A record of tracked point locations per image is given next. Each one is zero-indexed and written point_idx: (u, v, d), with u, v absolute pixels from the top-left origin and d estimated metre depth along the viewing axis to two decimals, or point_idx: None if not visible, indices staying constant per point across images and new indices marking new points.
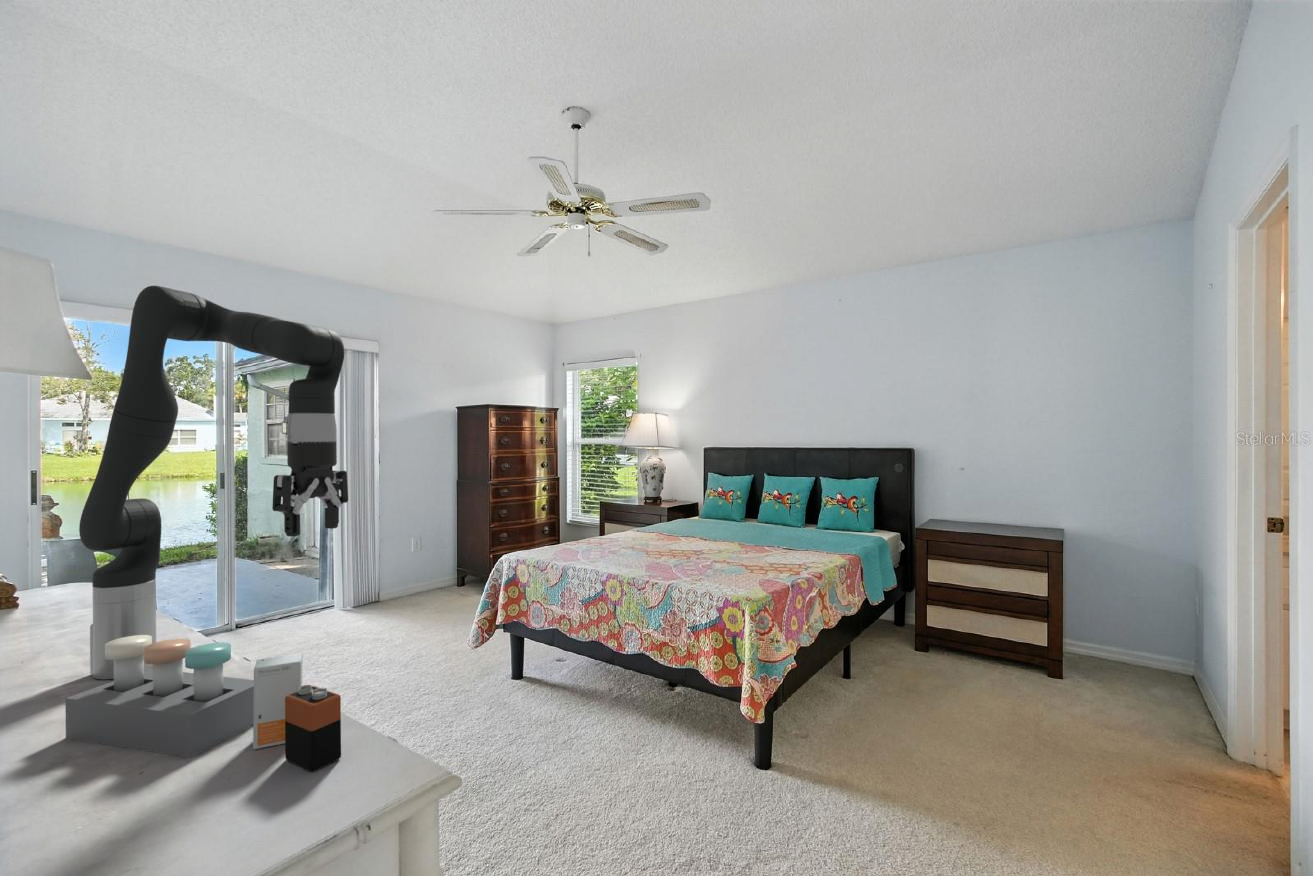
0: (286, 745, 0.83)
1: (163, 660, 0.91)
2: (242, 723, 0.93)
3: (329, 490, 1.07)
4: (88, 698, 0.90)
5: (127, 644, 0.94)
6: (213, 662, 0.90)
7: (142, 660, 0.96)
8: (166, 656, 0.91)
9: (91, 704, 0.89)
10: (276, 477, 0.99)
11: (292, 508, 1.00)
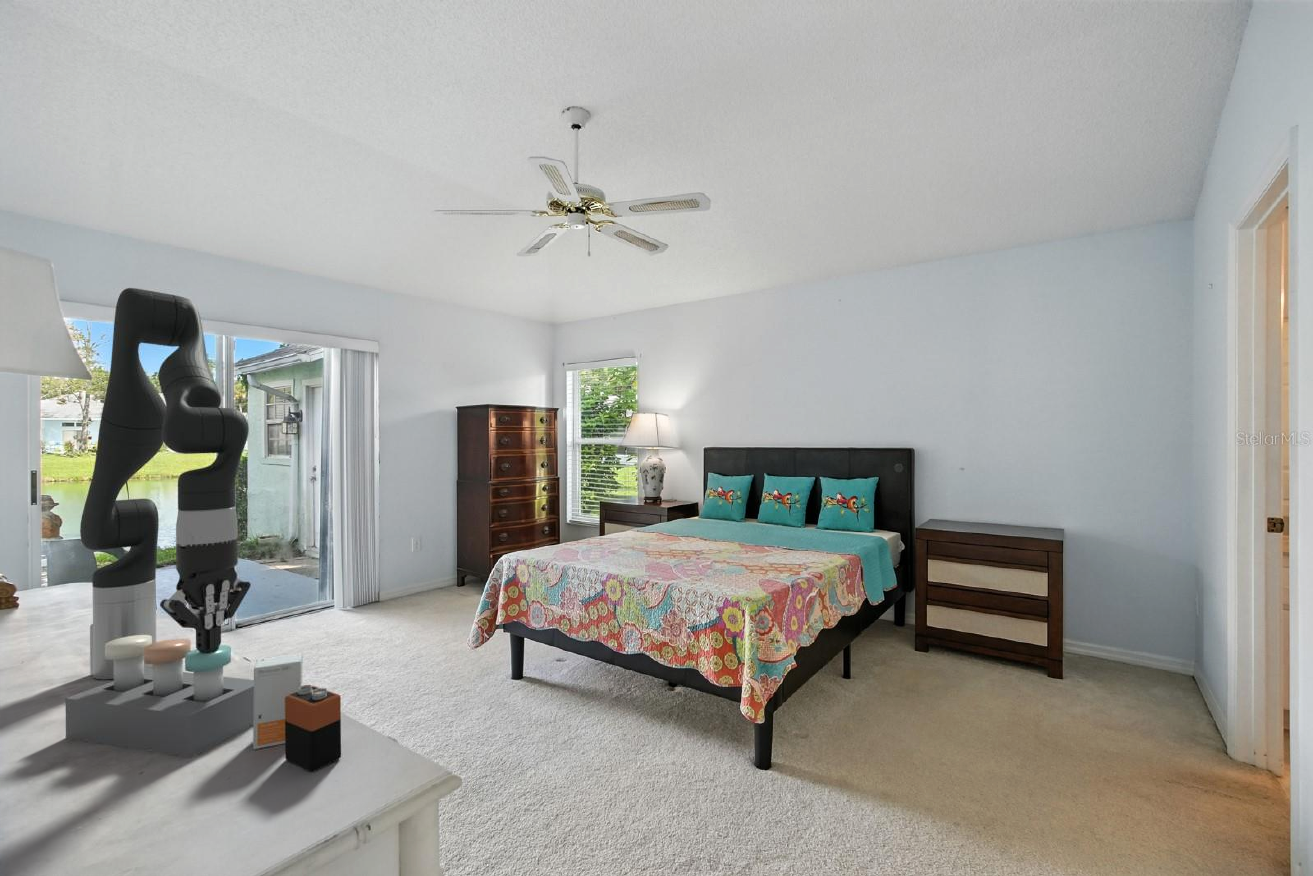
0: (286, 745, 0.83)
1: (163, 660, 0.91)
2: (242, 723, 0.93)
3: (220, 596, 0.92)
4: (88, 698, 0.90)
5: (127, 644, 0.94)
6: (213, 665, 0.90)
7: (142, 660, 0.96)
8: (166, 656, 0.91)
9: (91, 704, 0.89)
10: (162, 606, 0.86)
11: (203, 626, 0.90)
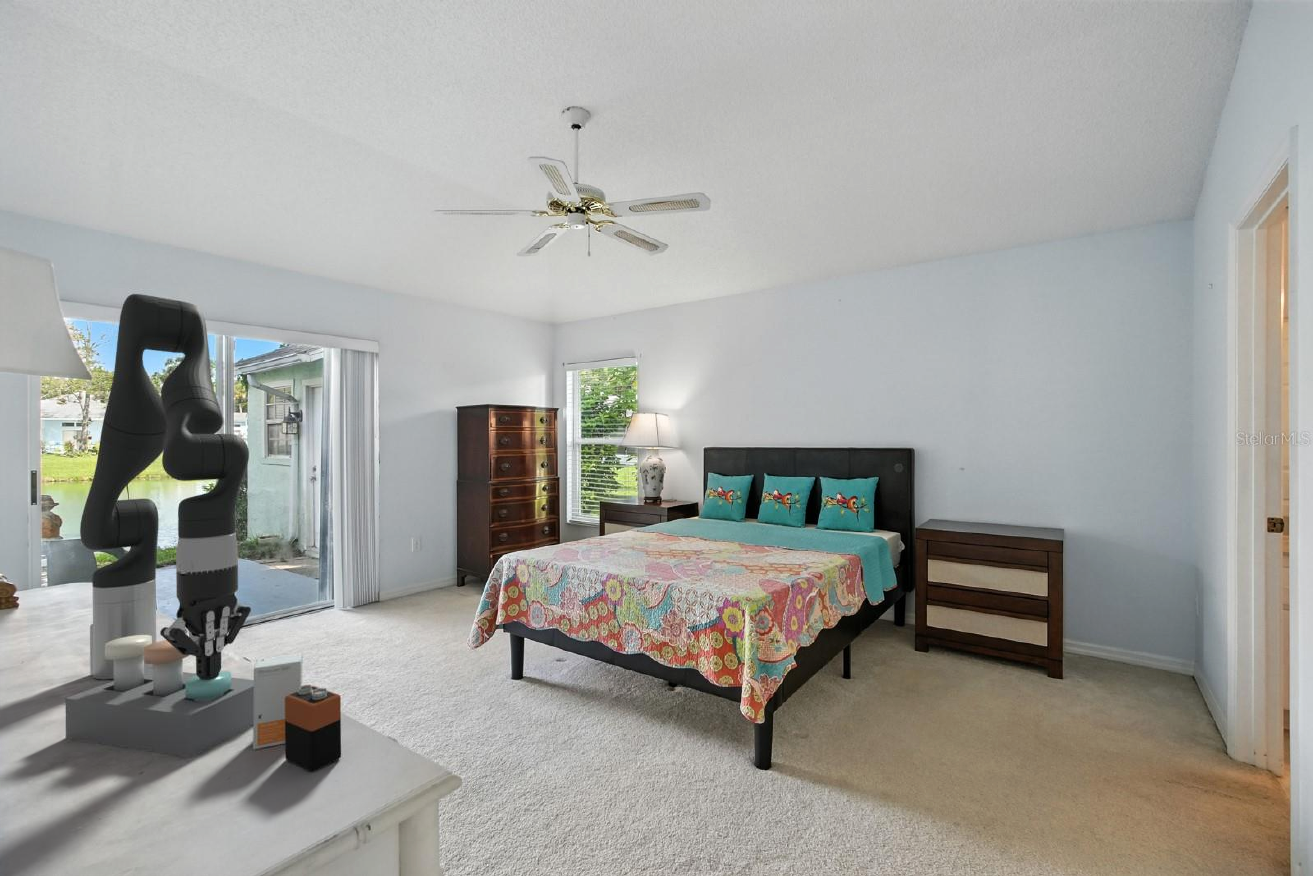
0: (286, 745, 0.83)
1: (163, 660, 0.91)
2: (242, 723, 0.93)
3: (220, 623, 0.92)
4: (88, 698, 0.90)
5: (127, 644, 0.94)
6: (213, 692, 0.90)
7: (142, 660, 0.96)
8: (166, 656, 0.91)
9: (91, 704, 0.89)
10: (163, 634, 0.86)
11: (203, 653, 0.90)
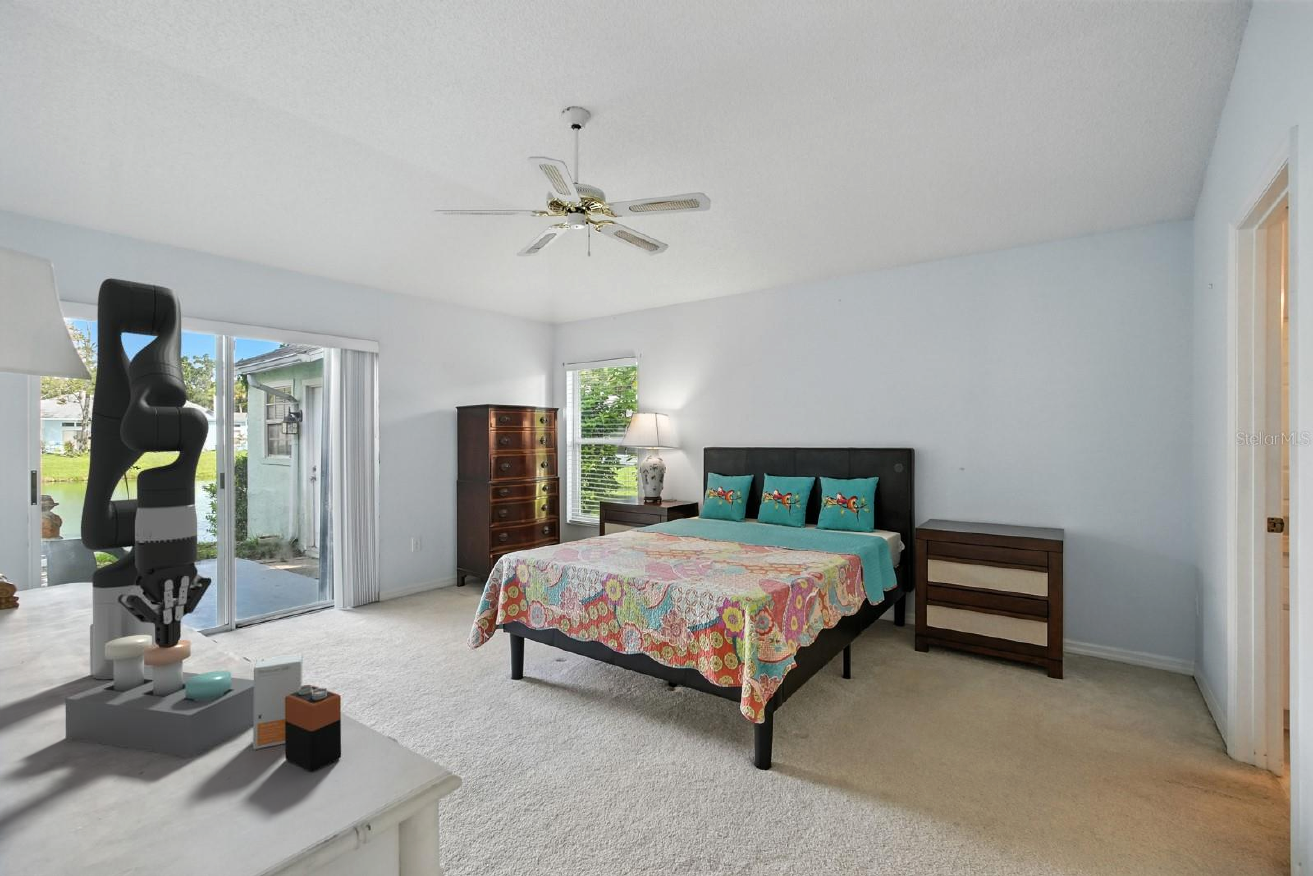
0: (286, 745, 0.83)
1: (163, 661, 0.91)
2: (242, 723, 0.93)
3: (179, 592, 0.94)
4: (88, 698, 0.90)
5: (127, 644, 0.94)
6: (213, 692, 0.90)
7: (142, 660, 0.96)
8: (166, 658, 0.91)
9: (91, 704, 0.89)
10: (120, 600, 0.88)
11: (162, 621, 0.92)
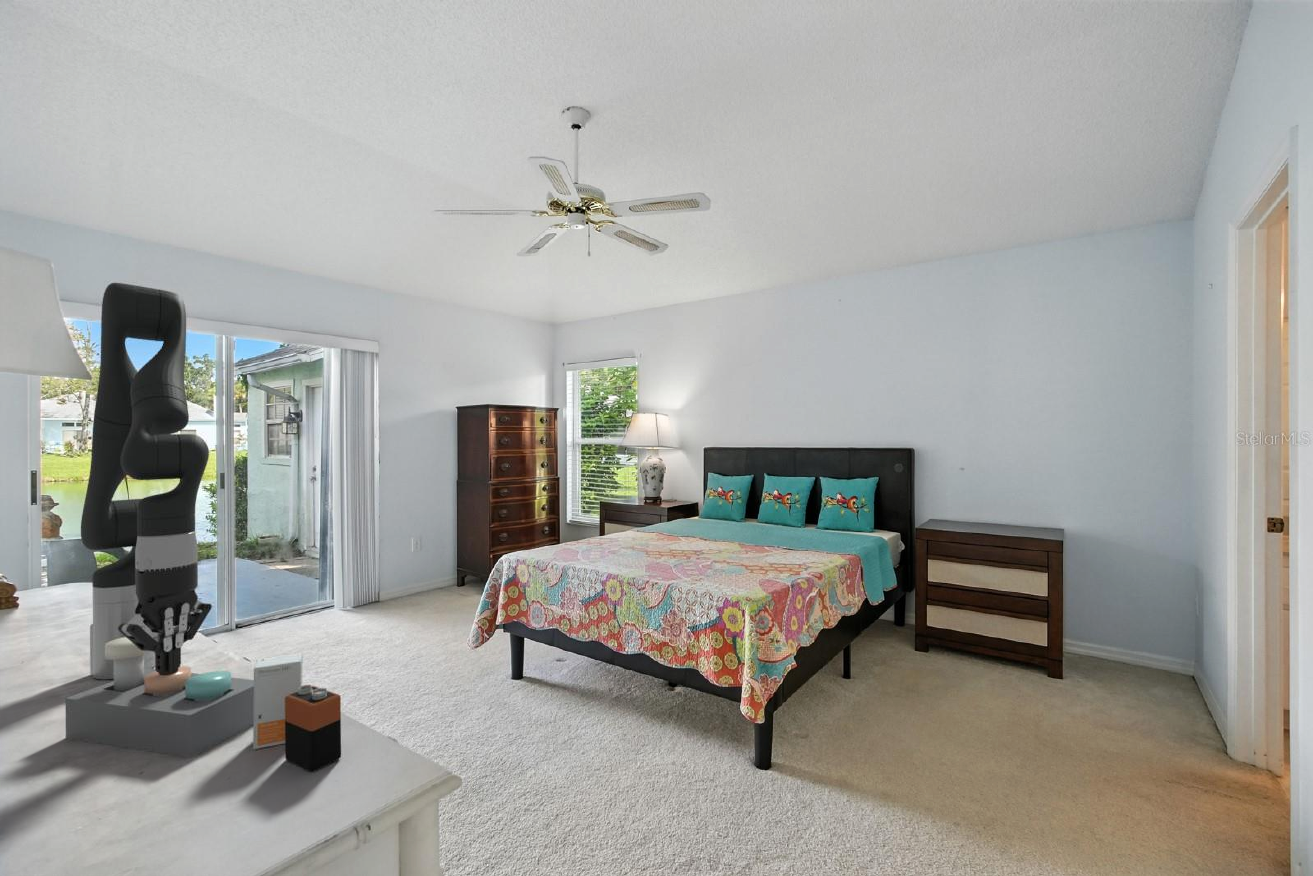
0: (286, 745, 0.83)
1: (163, 689, 0.91)
2: (242, 723, 0.93)
3: (180, 619, 0.94)
4: (88, 698, 0.90)
5: (127, 644, 0.94)
6: (213, 692, 0.90)
7: (142, 660, 0.96)
8: (166, 685, 0.91)
9: (91, 704, 0.89)
10: (120, 630, 0.88)
11: (162, 649, 0.92)
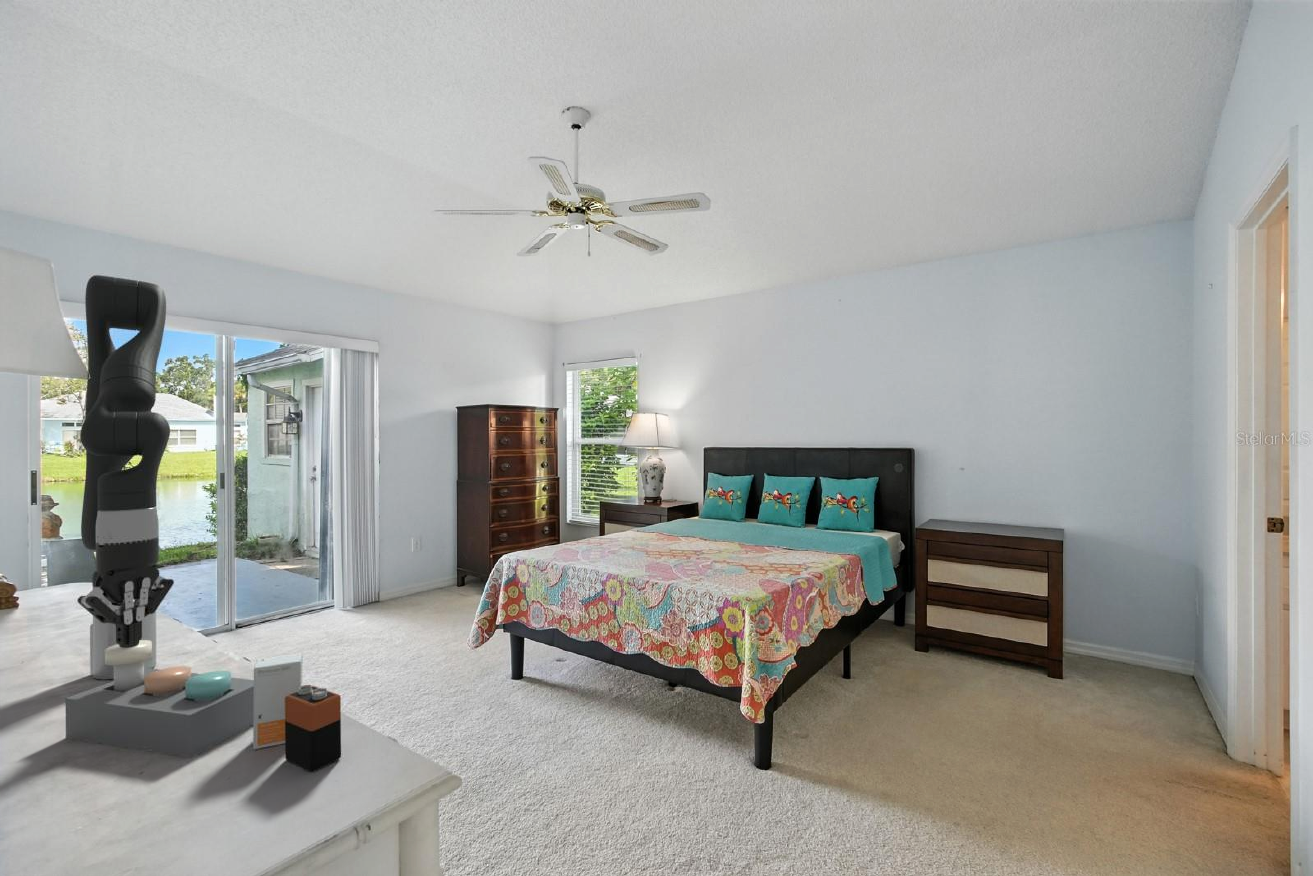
0: (286, 745, 0.83)
1: (163, 689, 0.91)
2: (242, 723, 0.93)
3: (140, 593, 0.95)
4: (88, 698, 0.90)
5: (127, 649, 0.94)
6: (213, 692, 0.90)
7: (142, 665, 0.96)
8: (166, 686, 0.91)
9: (91, 704, 0.89)
10: (80, 601, 0.90)
11: (122, 621, 0.94)
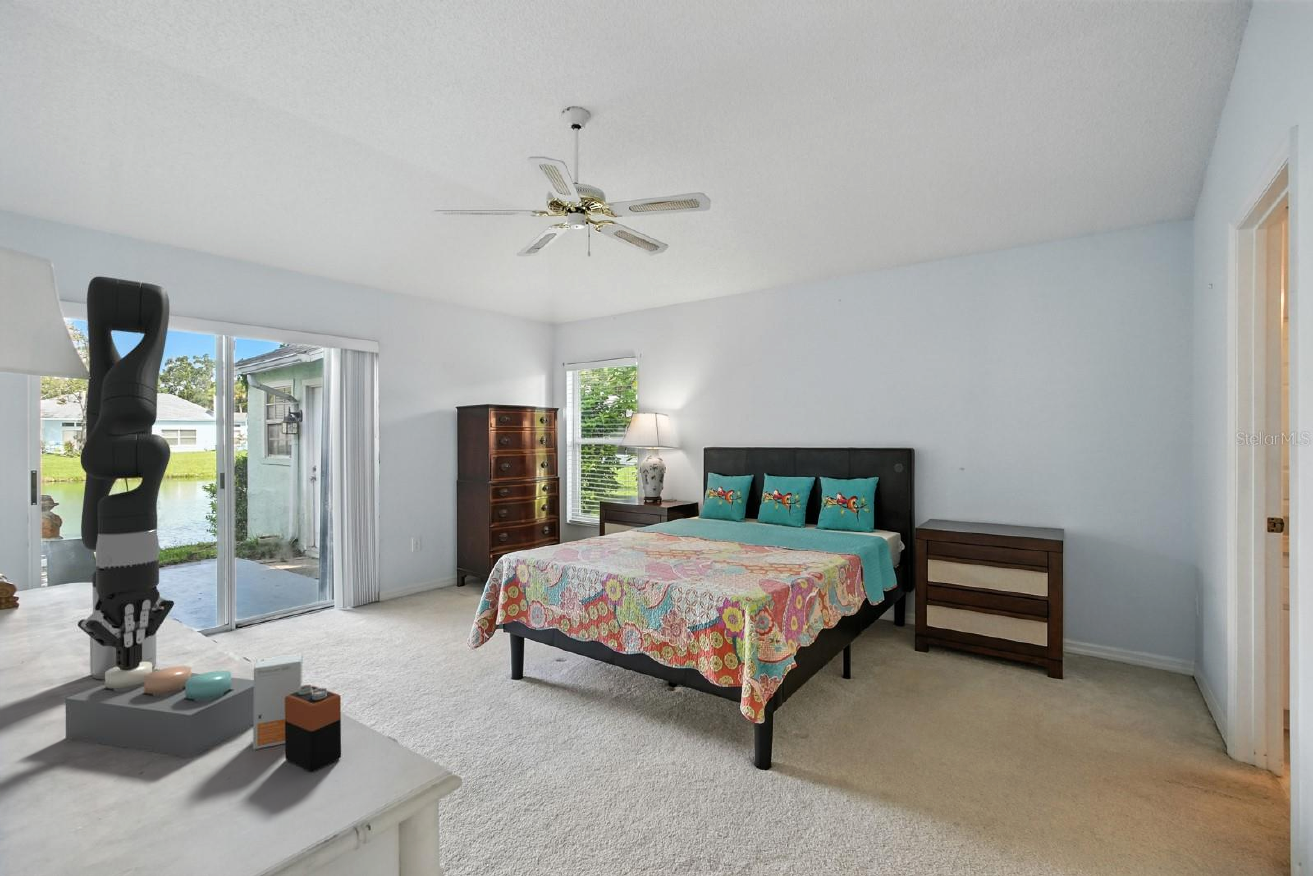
0: (286, 745, 0.83)
1: (163, 689, 0.91)
2: (242, 723, 0.93)
3: (140, 615, 0.95)
4: (88, 698, 0.90)
5: (127, 672, 0.94)
6: (213, 692, 0.90)
7: None
8: (166, 686, 0.91)
9: (91, 704, 0.89)
10: (80, 625, 0.90)
11: (123, 644, 0.94)
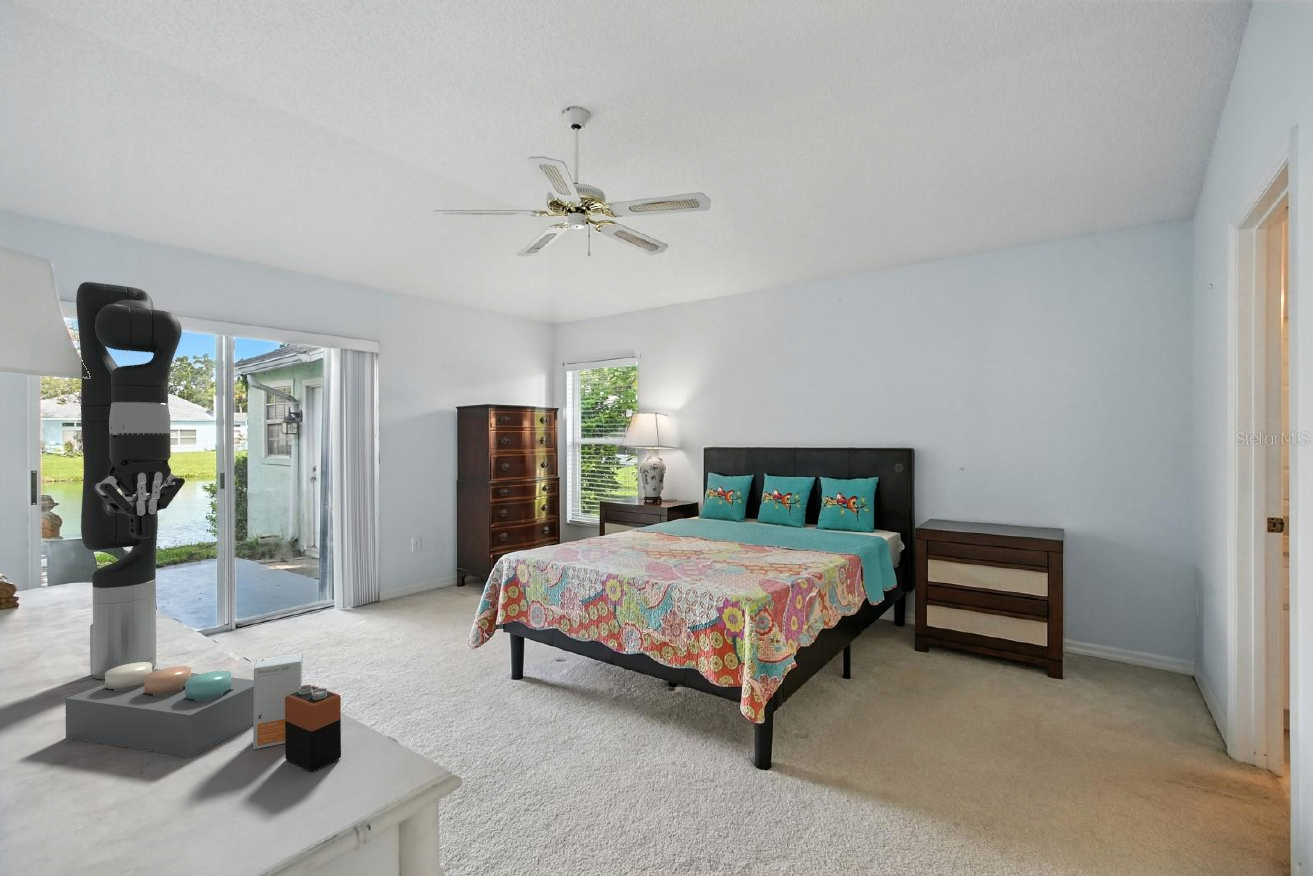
0: (286, 745, 0.83)
1: (163, 689, 0.91)
2: (242, 723, 0.93)
3: (153, 486, 0.97)
4: (88, 698, 0.90)
5: (127, 673, 0.94)
6: (213, 692, 0.90)
7: None
8: (166, 686, 0.91)
9: (91, 704, 0.89)
10: (94, 488, 0.91)
11: (135, 512, 0.96)
